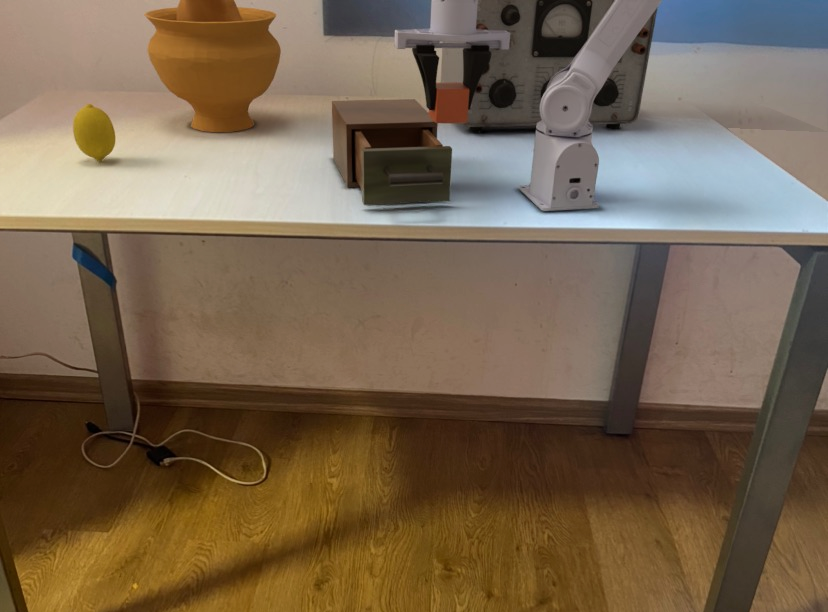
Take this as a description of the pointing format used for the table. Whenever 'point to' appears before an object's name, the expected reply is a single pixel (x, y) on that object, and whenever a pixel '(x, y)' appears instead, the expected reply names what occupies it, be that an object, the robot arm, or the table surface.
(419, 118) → the cabinet
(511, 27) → the vintage electronic device
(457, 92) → the block
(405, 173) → the drawer
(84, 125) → the lemon
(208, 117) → the mortar and pestle
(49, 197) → the table surface
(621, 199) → the table surface
